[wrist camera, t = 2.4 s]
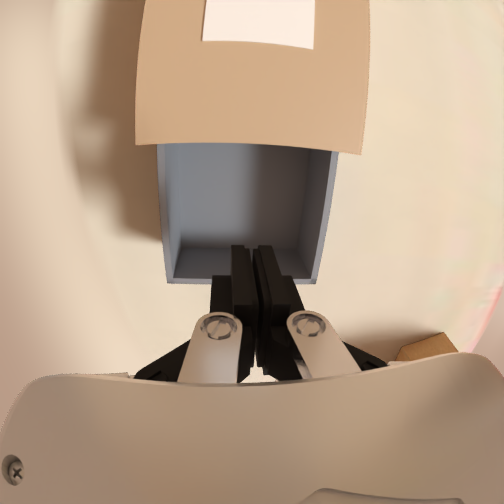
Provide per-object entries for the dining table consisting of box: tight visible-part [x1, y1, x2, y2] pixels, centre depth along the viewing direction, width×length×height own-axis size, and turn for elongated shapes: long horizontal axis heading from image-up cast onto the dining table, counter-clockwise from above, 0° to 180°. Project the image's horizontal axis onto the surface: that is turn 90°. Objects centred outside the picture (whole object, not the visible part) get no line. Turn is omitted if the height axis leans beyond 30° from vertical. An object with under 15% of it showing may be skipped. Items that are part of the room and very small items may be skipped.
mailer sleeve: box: [135, 0, 370, 155], centre depth 10 cm, size 16×11×6 cm
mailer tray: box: [157, 143, 339, 284], centre depth 15 cm, size 15×9×4 cm, turn 177°
